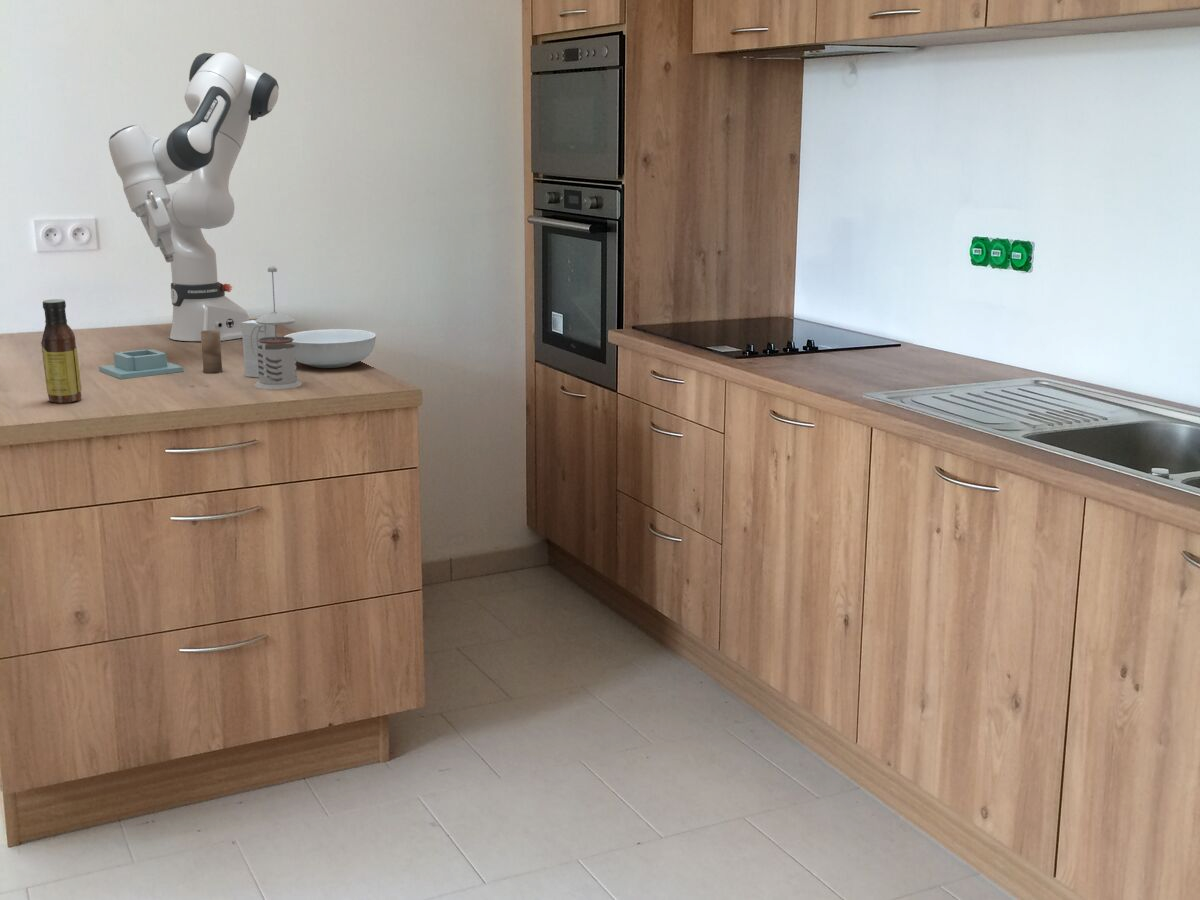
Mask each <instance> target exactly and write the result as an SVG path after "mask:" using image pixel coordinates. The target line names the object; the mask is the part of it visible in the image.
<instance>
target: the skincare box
mask: <svg viewBox="0 0 1200 900" xmlns="http://www.w3.org/2000/svg"><path fill="white" fill-rule="evenodd" d="M249 320H250V319H249ZM255 320H256V319H251V320H250V321H246V322H242V323H241V324H242V337H243V338H242V350H243V367H244V376H245V377H249V378H259V371H258V358H257V357H258V353H257V347H258V346H260V345H262V349H265V345H266V344H264V343H260V342H259V341H258V346H257V337H256V336H257V332H258V329H259V327H261V326H262V325H263V324H258V323H256V321H255ZM256 326H259V327H256ZM265 326H266V331H264V330H265ZM265 326H263V327H261V328H260V330H261V331H264V332H260V331H259V333H258V340H259V339H260V338H264V337H274V336H275V325H265ZM255 327H256V328H255ZM254 328H255V330H254V331H253V334H252V338H251V333H252V330H253V329H254ZM250 338H251V339H252V347H253V350H254V353H255V354H256V355H257V357H256V356H255V355H254V353H253V351H252V348H251V339H250ZM263 356H264V355H263ZM263 358H264V357H263ZM264 359H265V358H264ZM265 360H266V359H265ZM263 364H264V365H266V363H265V362H263ZM263 369H264V371H266V369H265V368H264V367H263ZM264 376H265V377H267V375H266V374H264Z"/></svg>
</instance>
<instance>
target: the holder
mask: <svg viewBox="0 0 1200 900" xmlns="http://www.w3.org/2000/svg"><path fill="white" fill-rule="evenodd" d="M113 358H114V359H113V361H114V364H111V365H101V366H98V370H99V372H101V373H104V374H107V375H109V376H112V377H115V378H117V379H118V380H119V379H120V380H123V379H132V378H141V377H149V376H157V375H158V376H159V375H166V374H167V373H168V374H175V373H183V372H184V366H181V365H178V364H175V363H171V362H168V359H167V358H168V357H167V353H165V352H163V351H159V350H156V349H145V348H144V349H135V350H126V351H118V352H114V353H113ZM168 374H167V375H168Z"/></svg>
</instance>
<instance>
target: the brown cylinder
mask: <svg viewBox="0 0 1200 900" xmlns="http://www.w3.org/2000/svg"><path fill="white" fill-rule="evenodd" d="M221 342H222V341H220V331H218V330H206V331H201V341H200V343H201V355H202V369H203V370H202V372H203V373H204V374H220V373H222V372H223V364H222V363H223V361H222V360H223V359H222V347H221V346H222V345H221V344H222V343H221ZM219 372H220V373H219Z"/></svg>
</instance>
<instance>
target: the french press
mask: <svg viewBox="0 0 1200 900" xmlns="http://www.w3.org/2000/svg"><path fill="white" fill-rule="evenodd" d="M267 272H268V273H271V277H272V280H271V281H272V282H271V283H272V294H273V295H272V296H273V298H272V299H273V311H272V312H271V313H265V314H263V315H261V316H260V317H258V318H256V319H254V320H255V321H256V323H258V324H263V325H262V326H261V327H263V326H265V325H275V336H274V337H264V338H260V339H259V340H258V333H259V331H260V332H264V331H266V326H265V330H264V331H261V330H260V328H261V327H259V326H256V327H259V329H258V332H257V336H256V337H257V346H258V341H259V342H260V343H264V344H266V345H265V349H262V345H260V346H258V347H257V353H258V357H257V355H256V354H255V353H254V350H253V347H252V339H251V338H252V334H253V331H254V330H255V328H256V327H255V328H254V329H253V330H252V333H251V338H250V339H251V348H252V351H253V353H254V355H255V356H256V357H257V358H258V371H259V377H258V381H257V382H256V383H255V384H254V385H255V386H256V387H255V386H254V387H255V388H257V387H259V389H262V388H263V390H285V389H293V388H297V387H300V386H302V385H303V383H302V382H300V381H299V380H298V377H297V375H298V374H297V373H298V372H297V364H296V363H297V361H296V359H295V357H296V349H295V345H292V344H285V343H290V342H292V341H293V340H294V339H293V338H291V337H289V338H288V337H284V336H280V335H279V336H277V326H284V325H291V324H294V323H295V321H296V319H294V318H293V317H292V316H290V315H288V314H286V313H283V312H282V313H281V312H277V311H276V304H275V303H276V302H275V300H276V299H275V283H274V273H277V272H278V268H277V267H276V266H274V265H270V266H269V267H268V268H267ZM285 348H287V349H285ZM263 355H264V356H263ZM263 357H264V358H265V359H266V360H265V359H264V358H263ZM263 362H265V363H266V365H264V364H263ZM263 367H264V368H265V369H266V371H264V369H263ZM264 374H266V375H267V377H265V376H264Z"/></svg>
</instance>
